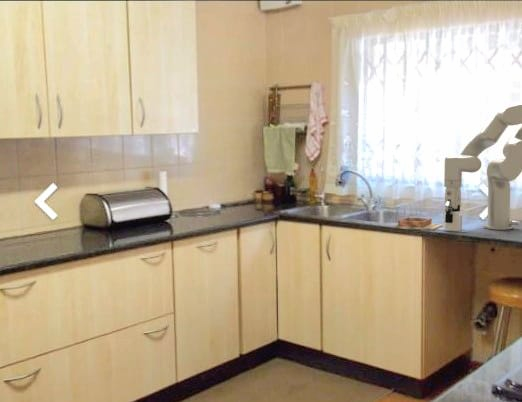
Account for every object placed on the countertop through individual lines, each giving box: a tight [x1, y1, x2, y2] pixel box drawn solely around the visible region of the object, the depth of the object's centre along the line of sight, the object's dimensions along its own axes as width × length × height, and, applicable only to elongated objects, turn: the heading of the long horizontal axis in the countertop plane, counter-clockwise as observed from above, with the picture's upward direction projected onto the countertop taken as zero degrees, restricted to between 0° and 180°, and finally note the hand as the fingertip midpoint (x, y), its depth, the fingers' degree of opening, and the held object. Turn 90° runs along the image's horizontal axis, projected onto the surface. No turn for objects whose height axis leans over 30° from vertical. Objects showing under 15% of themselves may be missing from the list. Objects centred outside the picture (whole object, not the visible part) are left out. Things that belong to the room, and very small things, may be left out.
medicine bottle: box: [444, 203, 463, 232], centre depth 294 cm, size 7×7×12 cm
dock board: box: [395, 216, 444, 232], centre depth 304 cm, size 18×14×4 cm
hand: (452, 221), depth 295 cm, fingers closed on medicine bottle, 8 cm apart
